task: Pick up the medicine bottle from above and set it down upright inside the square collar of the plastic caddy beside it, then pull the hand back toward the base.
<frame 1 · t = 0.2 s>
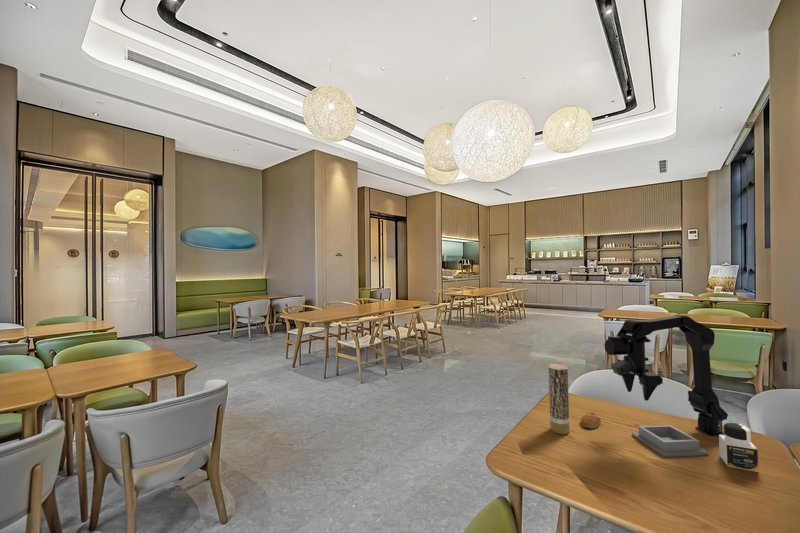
hand: (637, 395, 129), 15 cm above the table, tool pointing down, fingers open, 9 cm apart
medicine bottle: (738, 464, 109), on the table
pastry: (591, 425, 139), on the table
bottle caddy: (667, 444, 121), on the table
bark-patterned cylinder: (559, 431, 134), on the table
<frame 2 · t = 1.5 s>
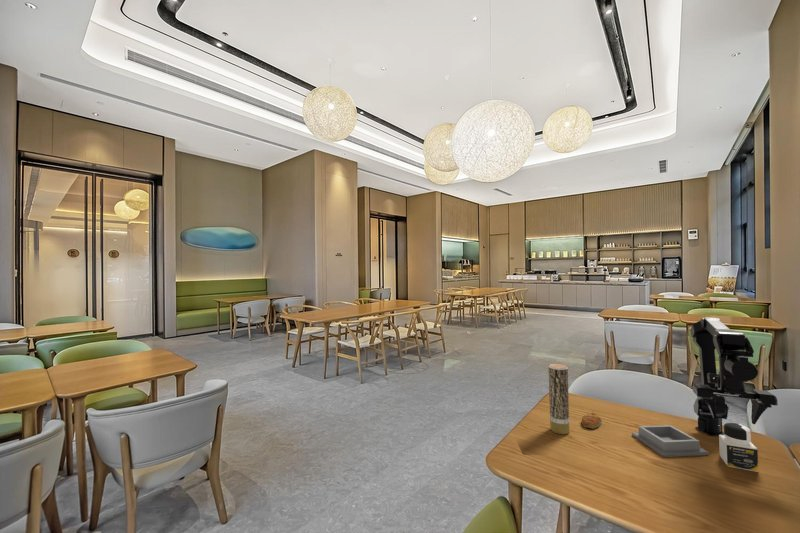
hand: (733, 421, 110), 13 cm above the table, tool pointing down, fingers open, 9 cm apart
nothing on the table moved.
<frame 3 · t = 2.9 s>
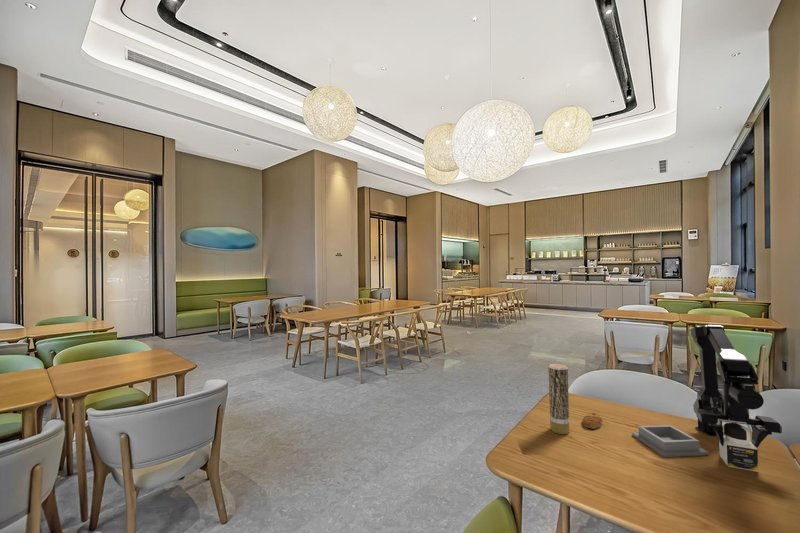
hand: (737, 447, 109), 5 cm above the table, tool pointing down, fingers closed on medicine bottle, 7 cm apart
medicine bottle: (738, 464, 109), on the table, touching gripper
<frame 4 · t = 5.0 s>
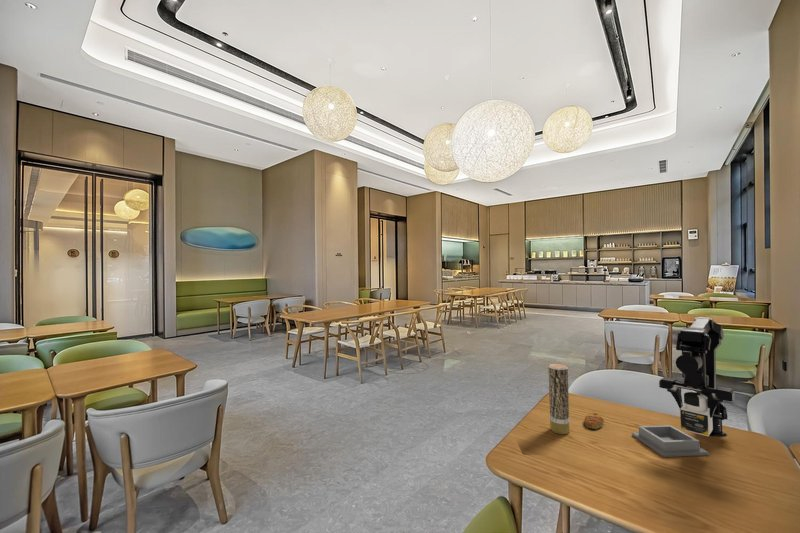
hand: (696, 413, 116), 13 cm above the table, tool pointing down, fingers closed on medicine bottle, 7 cm apart
medicine bottle: (696, 430, 116), point 7 cm above the table, touching gripper
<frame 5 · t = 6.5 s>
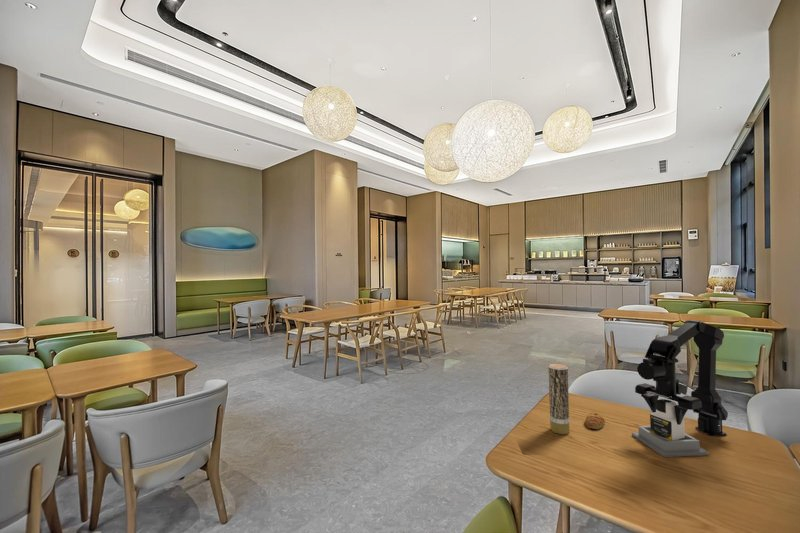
hand: (667, 420, 122), 9 cm above the table, tool pointing down, fingers closed on medicine bottle, 7 cm apart
medicine bottle: (667, 436, 122), point 3 cm above the table, touching gripper
when the fingers open (7 cm above the table, at t = 7.4 s): medicine bottle stays where it is, resting on bottle caddy.
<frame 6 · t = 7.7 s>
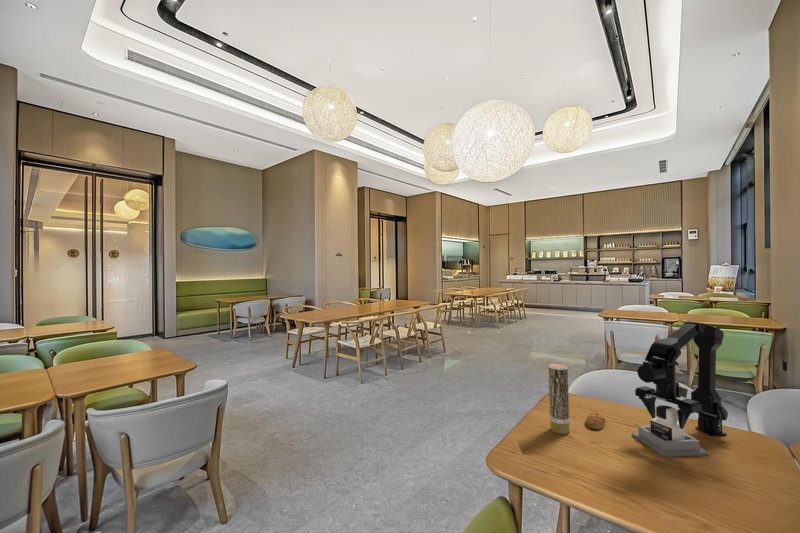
hand: (667, 423, 122), 7 cm above the table, tool pointing down, fingers open, 9 cm apart
medicine bottle: (667, 442, 121), point 1 cm above the table, touching bottle caddy
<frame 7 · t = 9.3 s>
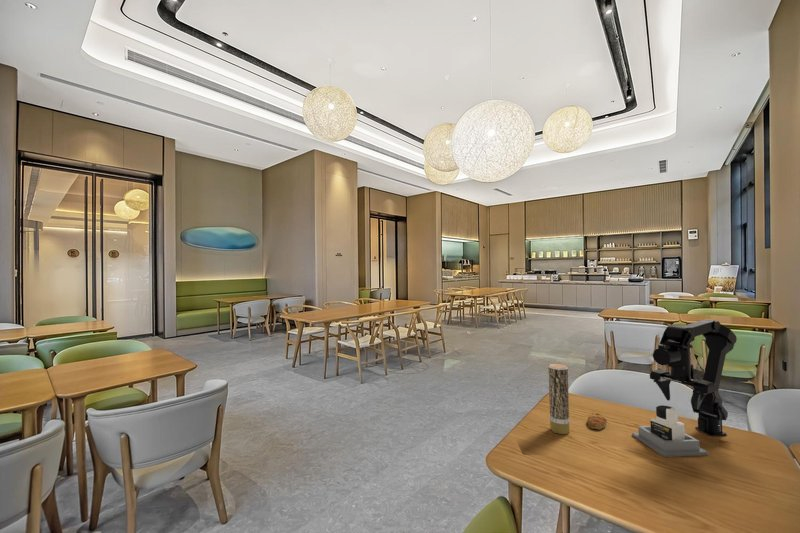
hand: (682, 404, 125), 13 cm above the table, tool pointing down, fingers open, 9 cm apart
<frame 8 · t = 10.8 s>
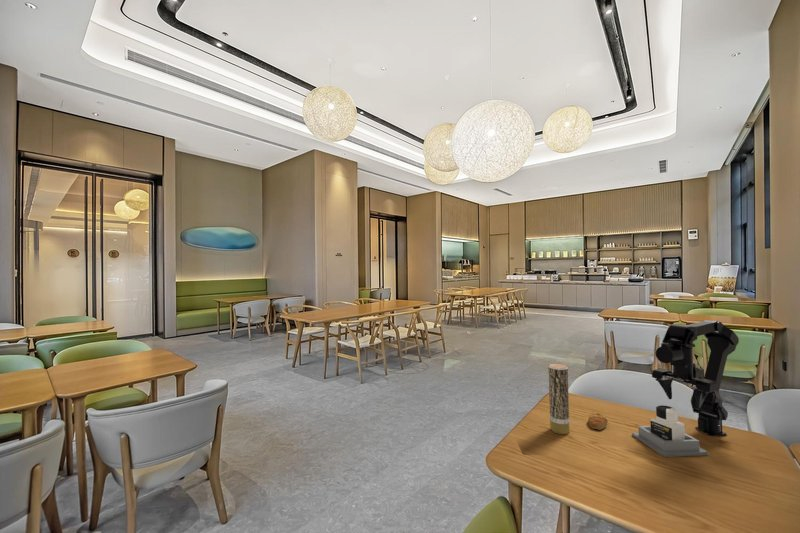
hand: (684, 403, 125), 13 cm above the table, tool pointing down, fingers open, 9 cm apart
at the end: medicine bottle 0.0 cm off-centre on the bottle caddy, point 0.8 cm above the bottle caddy's base; medicine bottle tilted 0°; the gripper is holding nothing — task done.
